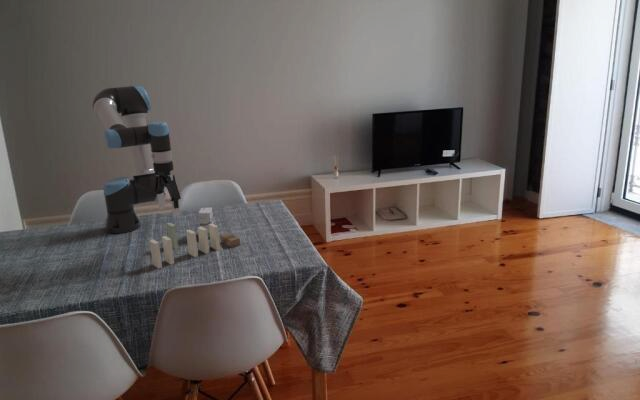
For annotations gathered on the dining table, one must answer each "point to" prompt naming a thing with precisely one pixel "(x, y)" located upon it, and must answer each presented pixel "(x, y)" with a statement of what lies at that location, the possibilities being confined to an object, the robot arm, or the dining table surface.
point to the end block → (230, 240)
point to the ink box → (206, 218)
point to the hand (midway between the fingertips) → (169, 212)
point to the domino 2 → (172, 234)
